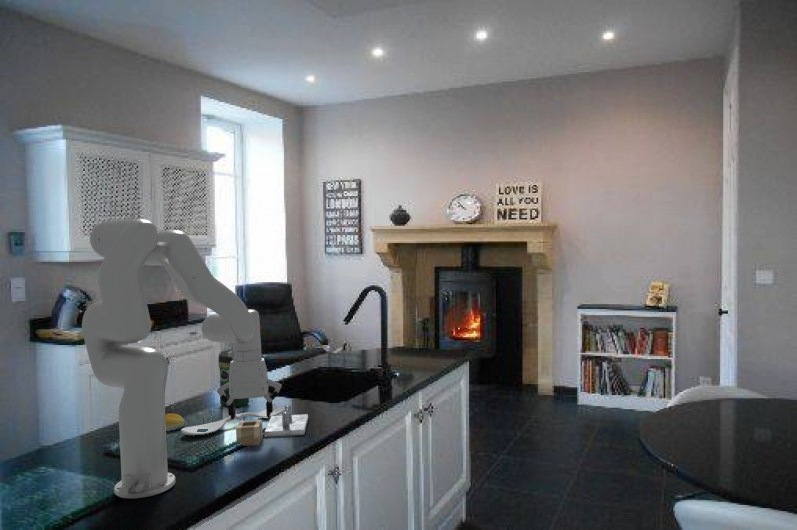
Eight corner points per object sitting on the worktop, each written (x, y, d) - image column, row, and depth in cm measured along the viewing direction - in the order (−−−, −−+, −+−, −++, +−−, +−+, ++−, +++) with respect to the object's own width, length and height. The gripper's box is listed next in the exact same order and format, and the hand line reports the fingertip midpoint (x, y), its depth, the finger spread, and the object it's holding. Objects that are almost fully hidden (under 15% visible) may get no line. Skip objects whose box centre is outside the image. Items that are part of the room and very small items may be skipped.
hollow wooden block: (259, 444, 158) (258, 426, 157) (236, 446, 157) (236, 427, 157) (262, 437, 164) (262, 419, 163) (240, 438, 163) (240, 421, 163)
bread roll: (154, 434, 170) (154, 421, 169) (156, 426, 178) (155, 412, 178) (185, 430, 173) (184, 417, 172) (184, 422, 181) (184, 409, 181)
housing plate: (304, 434, 165) (303, 415, 165) (264, 436, 164) (264, 417, 164) (308, 419, 180) (307, 401, 180) (271, 420, 179) (271, 403, 179)
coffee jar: (253, 404, 199) (251, 349, 198) (233, 409, 192) (231, 353, 192) (235, 400, 205) (233, 347, 204) (216, 405, 198) (213, 351, 198)
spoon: (290, 417, 183) (289, 406, 183) (189, 443, 162) (188, 430, 161) (275, 412, 190) (275, 401, 189) (176, 435, 168) (176, 423, 168)
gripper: (211, 360, 155) (215, 423, 156) (277, 356, 157) (281, 418, 158) (218, 354, 163) (221, 414, 164) (281, 350, 164) (284, 410, 165)
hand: (251, 416), depth 161 cm, fingers open, 9 cm apart
